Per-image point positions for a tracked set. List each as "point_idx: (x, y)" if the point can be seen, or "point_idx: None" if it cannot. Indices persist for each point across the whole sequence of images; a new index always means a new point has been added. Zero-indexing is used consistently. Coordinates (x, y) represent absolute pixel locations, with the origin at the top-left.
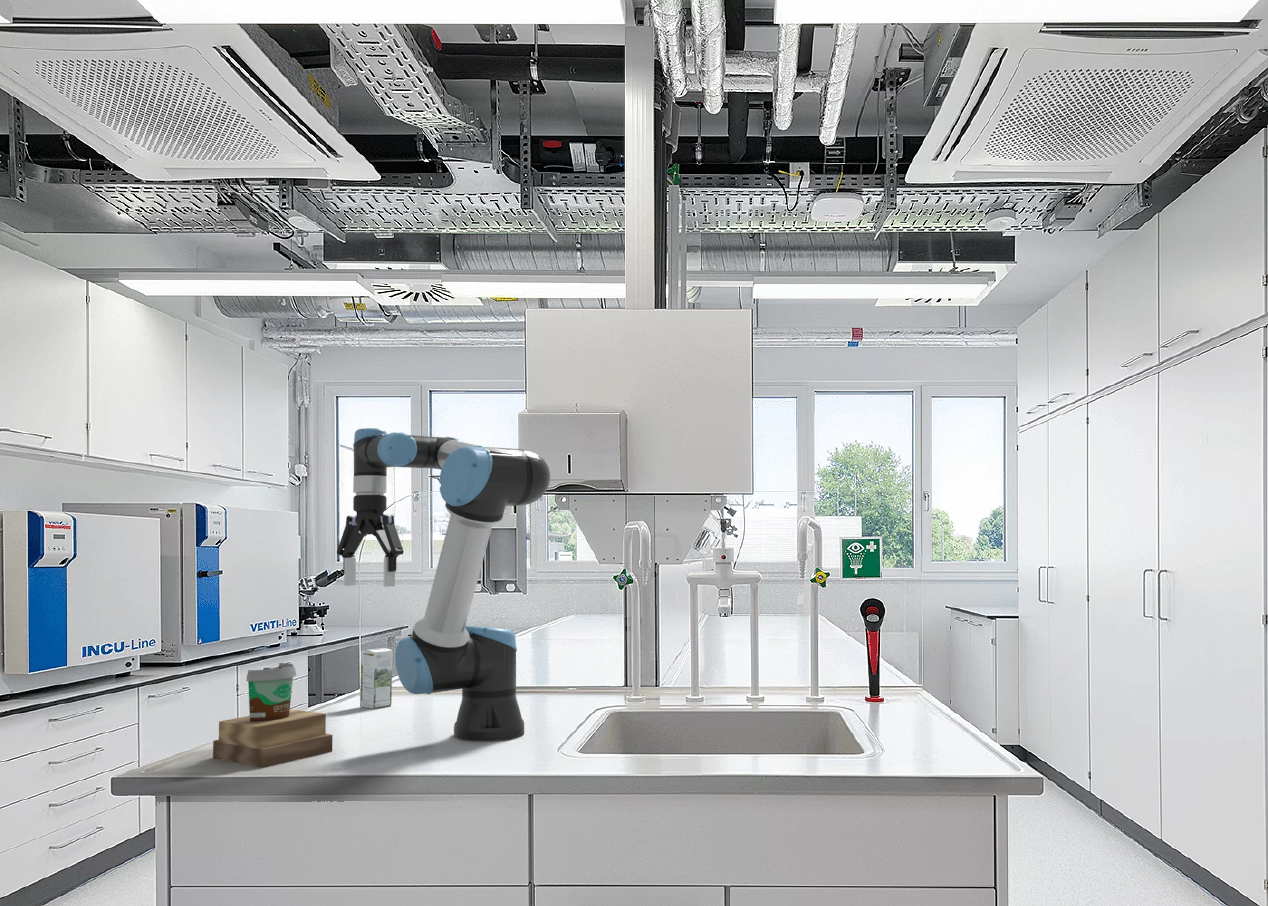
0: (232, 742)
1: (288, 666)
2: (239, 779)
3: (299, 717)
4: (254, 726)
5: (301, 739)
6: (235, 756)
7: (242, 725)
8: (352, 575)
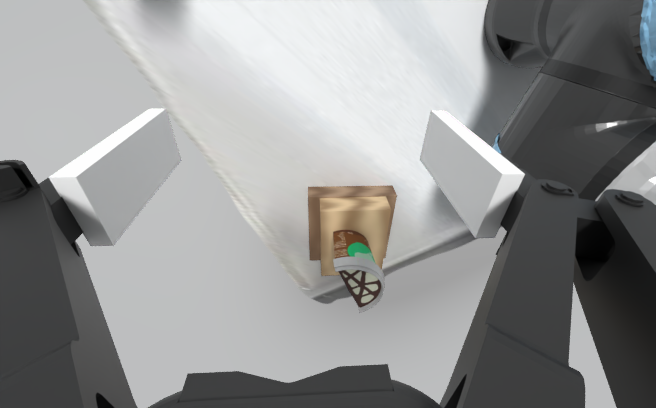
0: None
1: (353, 267)
2: (394, 270)
3: (380, 233)
4: None
5: None
6: None
7: None
8: (151, 147)
